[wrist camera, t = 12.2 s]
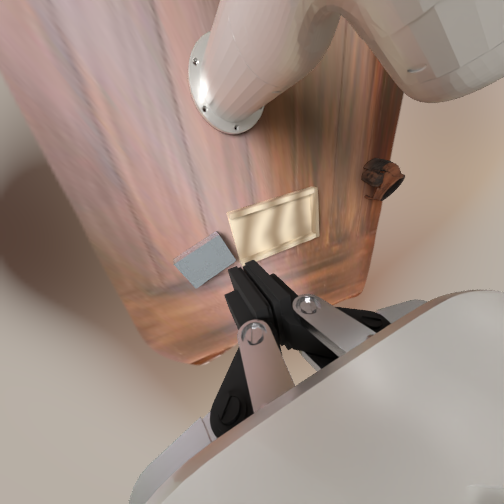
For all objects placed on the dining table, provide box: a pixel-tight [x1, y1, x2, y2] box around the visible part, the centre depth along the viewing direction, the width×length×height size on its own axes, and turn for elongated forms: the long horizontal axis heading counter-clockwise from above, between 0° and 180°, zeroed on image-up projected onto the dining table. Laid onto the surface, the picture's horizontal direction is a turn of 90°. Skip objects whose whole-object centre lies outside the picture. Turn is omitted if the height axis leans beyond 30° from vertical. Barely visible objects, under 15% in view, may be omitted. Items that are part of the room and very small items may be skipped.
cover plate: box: [173, 231, 236, 288], centre depth 37 cm, size 10×7×3 cm
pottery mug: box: [362, 158, 405, 201], centre depth 47 cm, size 12×9×8 cm
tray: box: [227, 187, 319, 266], centre depth 41 cm, size 21×12×2 cm, turn 105°
